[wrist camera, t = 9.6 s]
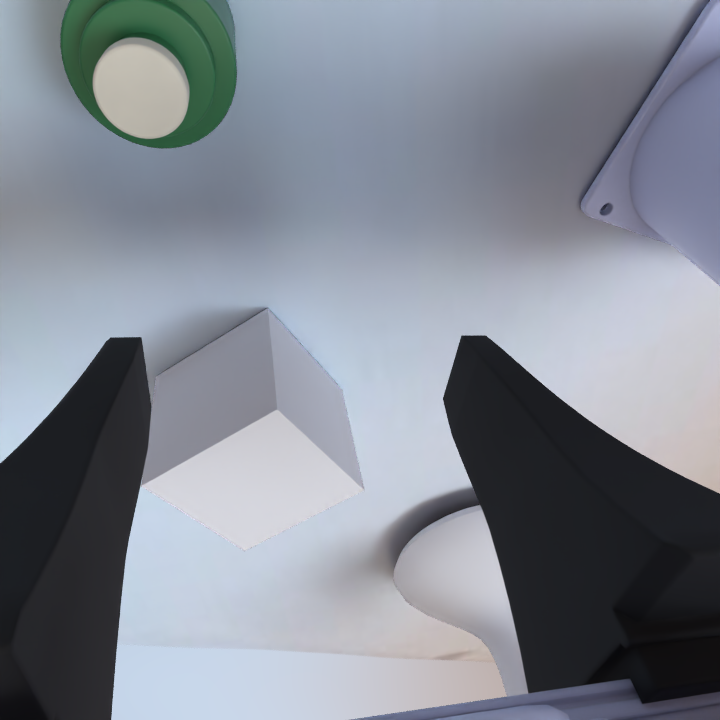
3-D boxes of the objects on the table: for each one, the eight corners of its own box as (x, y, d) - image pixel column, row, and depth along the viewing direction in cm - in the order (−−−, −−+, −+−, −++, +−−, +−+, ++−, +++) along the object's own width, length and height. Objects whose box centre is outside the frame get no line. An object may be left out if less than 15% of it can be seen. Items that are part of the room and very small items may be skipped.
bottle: (249, -19, 17) (259, 29, 12) (218, 117, 19) (215, 205, 14) (99, -81, 15) (39, -56, 10) (85, 74, 17) (29, 155, 13)
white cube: (267, 306, 24) (278, 408, 19) (342, 388, 28) (365, 490, 23) (155, 376, 25) (140, 487, 21) (241, 446, 29) (244, 552, 24)
